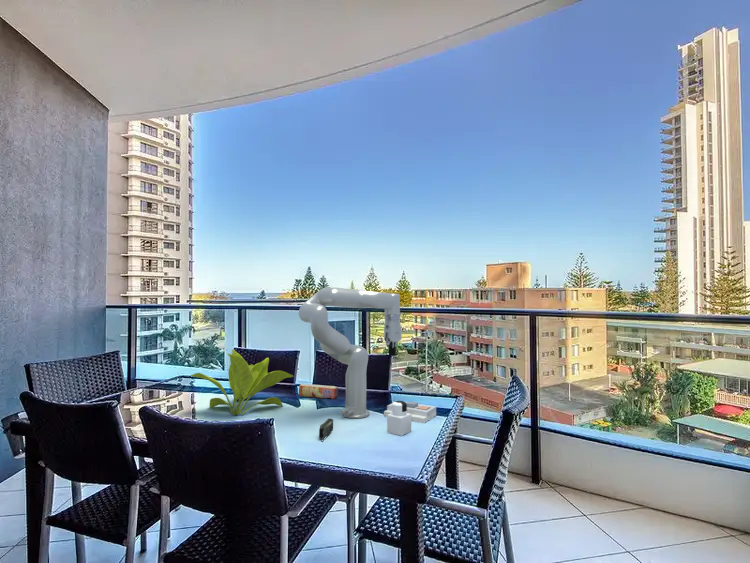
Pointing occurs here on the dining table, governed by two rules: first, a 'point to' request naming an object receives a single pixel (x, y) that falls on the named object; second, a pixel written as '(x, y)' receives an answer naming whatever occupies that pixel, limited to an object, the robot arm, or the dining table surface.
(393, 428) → the medicine bottle
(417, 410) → the white shallow tray
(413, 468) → the dining table surface
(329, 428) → the mobile phone
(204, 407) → the dining table surface
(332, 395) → the snack package
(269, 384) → the artificial plant
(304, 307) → the robot arm
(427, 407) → the terracotta key
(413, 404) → the slate key
